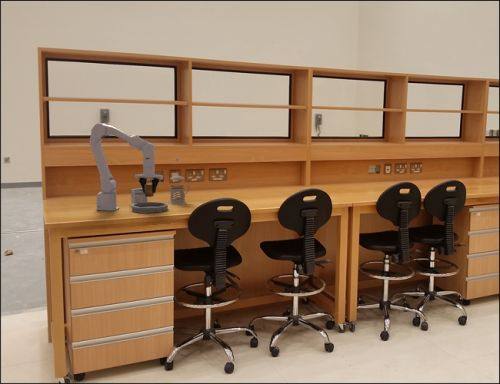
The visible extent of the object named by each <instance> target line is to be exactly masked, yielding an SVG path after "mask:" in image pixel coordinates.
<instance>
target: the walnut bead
mask: <svg viewBox="0 0 500 384" xmlns="http://www.w3.org/2000/svg"><path fill="white" fill-rule="evenodd" d="M154 195H155V193H153V192H152V183H146V184H145V197H148V198H151V197H154Z"/></svg>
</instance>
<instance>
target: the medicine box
mask: <svg viewBox="0 0 500 384" xmlns="http://www.w3.org/2000/svg"><path fill="white" fill-rule="evenodd" d="M130 195H131V196H130V198H131V199H130V200H131V201H130V202H131V205H132V204H135V203H140V202H149V200H148V198H149V197H145V193H143V189H142V187H141V188H140V187H139V188H131V189H130Z"/></svg>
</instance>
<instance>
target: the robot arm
mask: <svg viewBox="0 0 500 384" xmlns="http://www.w3.org/2000/svg"><path fill="white" fill-rule="evenodd" d="M90 132H91V133H90V137H89V146H90V148H91V151H92V155H93V157H94V161H95V164H96V167H97V171H98V172H99V181H100V189H101V191H99V192H98V193H97V195H96V209H95V210H96V211H109V212H113V211H116V210H119V209H120V208H121V207H119V206H118V205H117V204H118V203H117V186H118V183H117V180H115V178H114V177H113V175H112V173H111V171H110V169H109V164H108V162H107V159H106V157H105V156H106V155H105V152H104V149H103V147H102V144H101V143H102V141H103V140H104V138H106V137H107V136H114V137H117V138H118V139H120V140H124V141H125V142H127V143H128V146H130V147H132V148H133V149H136V150H138V151H140V152H142V154H143V156H142V158H143V159H142V170H143V171H142V173H141V174H138V173H137V174H134V179H138V182H139V184H140V186H141V188H142V189H143V193H145V184H147V180H149V179H150V181H151V184H152V192H153V193H154V194H156V190H157V188H158V184H159V182H160V180H163V179H164V175H162V174H155V171H156V170H155V165H156V164H155V151H156V146H155V144H154V143H152V142H151V141H150V142H148V140H145V139H143V138H141V137H140V136H139V135H135V134H134V135H130V134H127V133H126V132H124V131H122V130H121V129H118V128H117V127H114V126H112V125H108V124H107V123H104V122H103V123H96V124H94V125H93V126H92V128H91V130H90Z"/></svg>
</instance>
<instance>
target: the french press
mask: <svg viewBox="0 0 500 384" xmlns="http://www.w3.org/2000/svg"><path fill="white" fill-rule="evenodd" d="M178 161H179V158H175V162H178ZM169 180H171V181H176V184H172V185H171V186H170V201H169V202H168V204H170V205H183V204H185V205H186V203H187V201H186V198H185V197H186V196H185V195H186V194H188V192H189V191H190V187H191V186H190V183H189V182H187V181H186V180H185V177H183V176H181V175H178V171H176V175H173V176H172V177H170V178H169ZM178 181H183V184H185V183H187V185H188V189H187V191H186V192H185V188H184V185H183V184H178V183H179V182H178Z"/></svg>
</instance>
